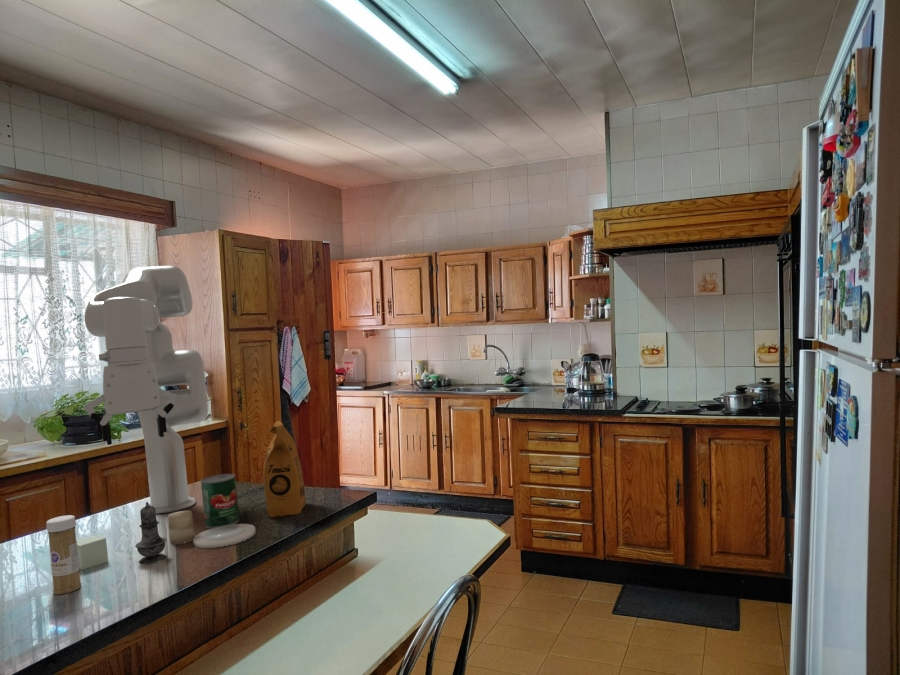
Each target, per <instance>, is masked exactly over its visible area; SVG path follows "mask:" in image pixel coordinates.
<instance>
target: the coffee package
mask: <svg viewBox="0 0 900 675" xmlns="http://www.w3.org/2000/svg"><path fill="white" fill-rule="evenodd" d="M269 432H270V433H271V434H274V436H273V438H272V439H271V441H270V442H269V446H268V448H267V450H266V455H265V458H264V459H265V460H264V463H263V464H264V465H263V472H262V474H263V475H262V476H263V477H262V478H263V489H264V495H265V502H266V510H267V511H266V512H267V514H268V516H270V517H271V518H275V517H281V518H283V517H286V516H293V515H300V514H301V513H302V511H303V509H305V506H306V501H307V500H306V493H305V490H306V489H305V482H304V475H303V471H302V464H301V461H300V456H299V453H298V449H297V445H296V442H295V440H294V438H293V436H292V434H290V433H289V432H288V430H287V429H286V428H285V427H284V424H283V422H281V421H280V420H277V421H276V422H274V423H273V426H272V428H271V429H270V431H269Z"/></svg>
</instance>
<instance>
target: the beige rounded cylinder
mask: <svg viewBox="0 0 900 675" xmlns="http://www.w3.org/2000/svg"><path fill="white" fill-rule="evenodd" d="M167 521H168V522H167V523H168V534H169V543H171V545H174V544H177V545H181V544H180V543H183V544H185V543H184V542H187V543H189V542H188V541H190V540H192V539H193V538H194V537H195V529H194V519H193V512H192V510H178V511H174V512H171V513H170V514H168V515H167ZM192 541H193V540H192ZM190 542H191V541H190Z"/></svg>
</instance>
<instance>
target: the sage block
mask: <svg viewBox="0 0 900 675" xmlns="http://www.w3.org/2000/svg"><path fill="white" fill-rule="evenodd" d="M76 541H77V550H78V559H79V568H80V569H79V570H81V569H82V570H81V571H83V569H84V570H86V568H87V569H89V567H90V568H93V567H96V566H98V565H101V563H102V564H104V563H107V562H109V555H108V545H107V538H106V537H104V536H100V535H98V534H94V535H90V536H87V537H84V538H81V539H76ZM92 566H93V567H92Z"/></svg>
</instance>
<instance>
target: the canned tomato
mask: <svg viewBox="0 0 900 675" xmlns="http://www.w3.org/2000/svg"><path fill="white" fill-rule="evenodd" d="M200 484H201V487H200V488H201V489H200V490H201V496H202V507H203V508H202V509H203V518H204V519H203V520H204V527H205V528H206V527H208V528H207V529H212V528H216V527H220V526H225V525H232V524H238V522H240V516H239V513H240V512H239V503H238V493H237V492H238V491H237V484H236V474H234V473H222V474H215V475H210V476H206V477H203V478H202V479H201V480H200Z"/></svg>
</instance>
